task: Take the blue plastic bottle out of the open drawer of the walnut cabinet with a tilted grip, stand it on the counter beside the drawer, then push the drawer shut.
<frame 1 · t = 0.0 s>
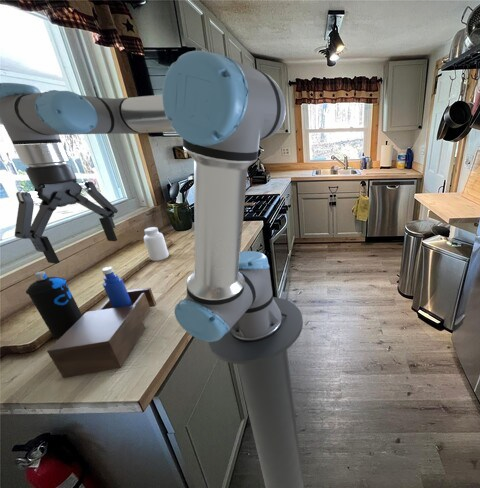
hand: (86, 250, 66), 27 cm above the counter, tool pointing down, fingers open, 13 cm apart
bottle: (127, 316, 81), point 2 cm above the counter, touching drawer
cabinet: (108, 350, 71), on the counter
pill bottle: (160, 258, 126), on the counter
drawer: (127, 307, 82), point 4 cm above the counter, slide at 10.0 cm, touching bottle
eye dropper bottle: (218, 257, 124), on the counter
aerosol can: (70, 329, 80), on the counter
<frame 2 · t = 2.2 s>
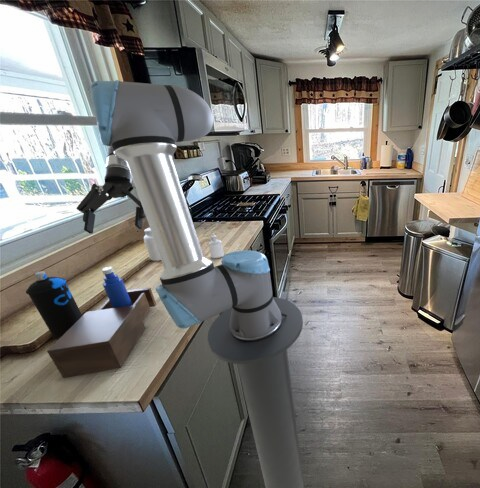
hand: (113, 229, 80), 28 cm above the counter, tool tilted 45°, fingers open, 13 cm apart
nothing on the counter moved.
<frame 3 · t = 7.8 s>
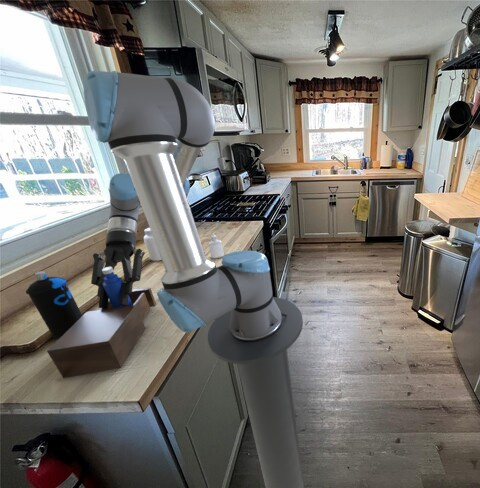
hand: (113, 306, 75), 9 cm above the counter, tool tilted 45°, fingers closed on bottle, 5 cm apart
bottle: (127, 316, 81), point 2 cm above the counter, touching drawer, gripper
everything else where it was.
when the fingers open (7 cm above the counter, at t = 18.0 s): bottle stays where it is, on the counter.
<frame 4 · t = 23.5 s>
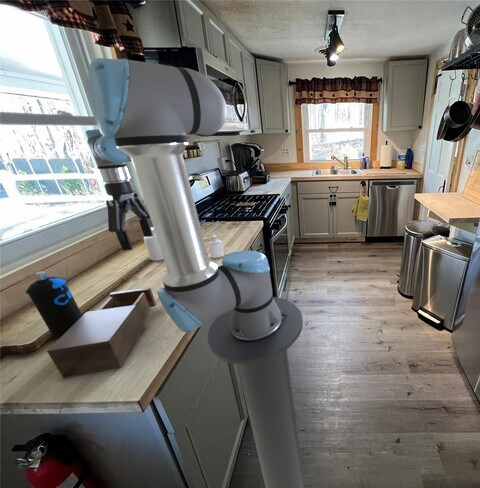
hand: (139, 242, 91), 20 cm above the counter, tool pointing down, fingers open, 13 cm apart
bottle: (188, 291, 97), on the counter
drawer: (127, 307, 82), point 4 cm above the counter, slide at 10.0 cm
everything else where it was.
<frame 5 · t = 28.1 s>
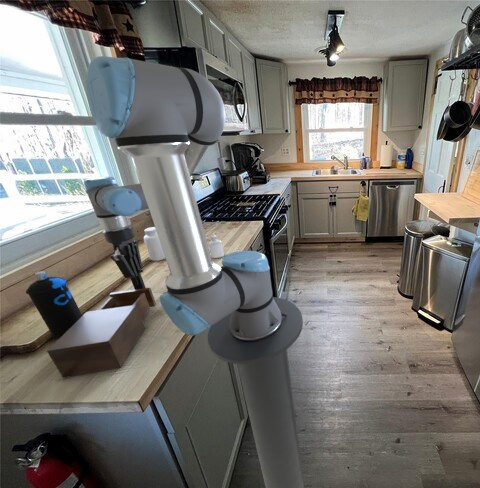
hand: (141, 290, 91), 4 cm above the counter, tool pointing down, fingers closed
drawer: (127, 307, 82), point 4 cm above the counter, slide at 9.9 cm, touching gripper
everything else where it was.
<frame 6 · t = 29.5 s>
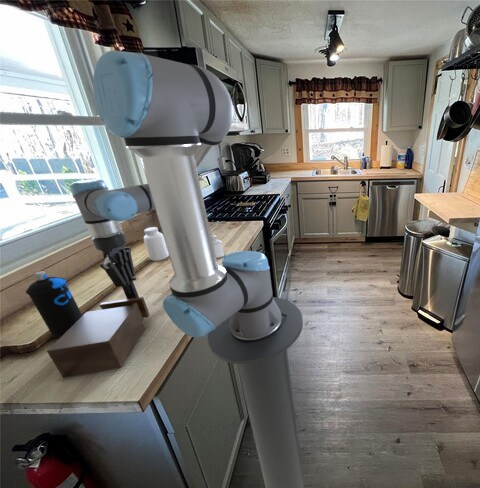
hand: (133, 299, 86), 4 cm above the counter, tool pointing down, fingers closed
drawer: (118, 318, 77), point 4 cm above the counter, slide at 4.4 cm, touching gripper
everything else where it was.
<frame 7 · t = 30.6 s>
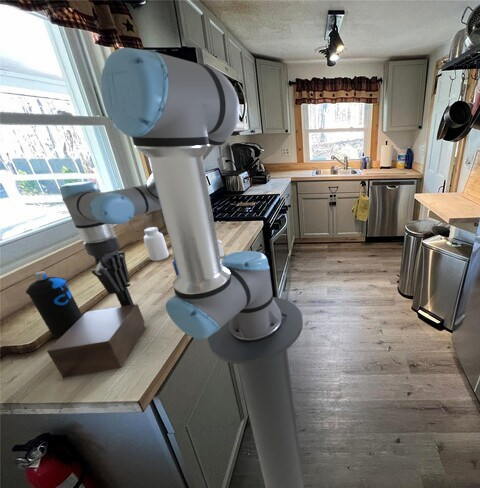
hand: (128, 306, 82), 4 cm above the counter, tool pointing down, fingers closed
drawer: (111, 327, 73), point 4 cm above the counter, slide at 0.5 cm, touching gripper
everything else where it was.
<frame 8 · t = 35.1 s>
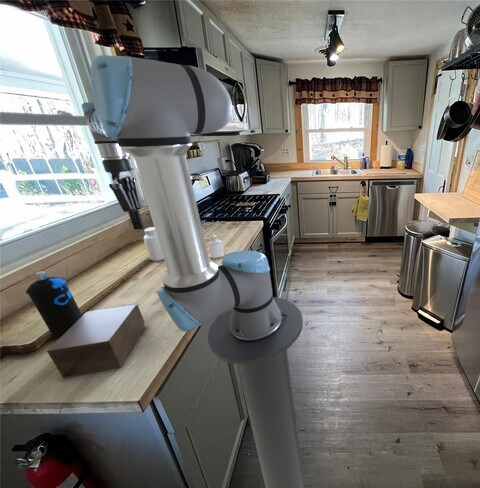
hand: (139, 228, 91), 24 cm above the counter, tool pointing down, fingers closed
drawer: (111, 327, 73), point 4 cm above the counter, slide at 0.5 cm
everything else where it was.
at the end: bottle inside the target area (0.1 cm from its centre), on the counter; bottle tilted 0°; drawer slide at 0.5 cm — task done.
